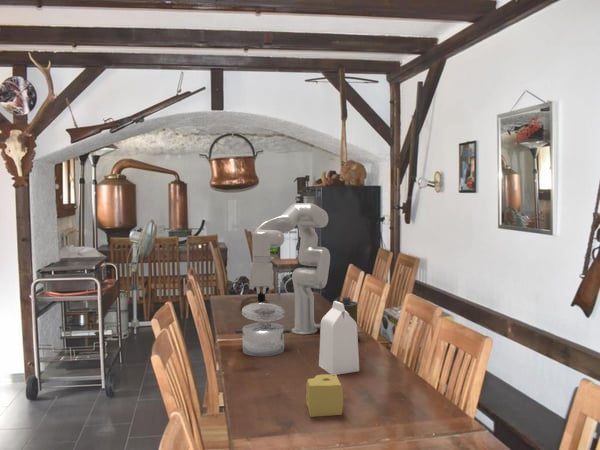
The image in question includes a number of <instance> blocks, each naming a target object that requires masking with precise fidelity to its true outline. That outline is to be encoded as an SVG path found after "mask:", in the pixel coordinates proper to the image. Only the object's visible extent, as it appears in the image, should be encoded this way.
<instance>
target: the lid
mask: <svg viewBox="0 0 600 450" xmlns="http://www.w3.org/2000/svg"><path fill="white" fill-rule="evenodd" d="M241 315H242V316H243V317H244V318H245V319H247V320H250V321H255V322H259V323H272V322H274V321H279V320H281V319H283V318H285V316H286V310H285V309H284V307H282V306H280V305H279V304H276V303H271V302H269V303H252V304H249V305H246V306H244V307H243V308H241Z"/></svg>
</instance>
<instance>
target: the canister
mask: <svg viewBox="0 0 600 450" xmlns="http://www.w3.org/2000/svg"><path fill="white" fill-rule="evenodd" d="M338 302H340V303H342V304H344V309H345V311H347V312H348V313H349V316H350V317H351V318H353V319H354V320H355V322H356V324H357V325H358V305H359V304H358V302H356V301H353V300H352V299H351V297H350V296H343V297H342V300H340V301H338Z"/></svg>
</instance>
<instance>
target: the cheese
mask: <svg viewBox="0 0 600 450" xmlns="http://www.w3.org/2000/svg"><path fill="white" fill-rule="evenodd" d="M305 385H306V387H305V388H306V395H305V403H306V406H307V408H308V413H309V416H310V417H311V418H312V417H313V418H314V417H327V416H328V417H330V416H342V413H343V408H344V391H343V387H342V384H341V381H340V380H339V378H338V375H336V374H330V373H328V374H317V375H315V376H314V378H308V379H307V382H306V384H305Z"/></svg>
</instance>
